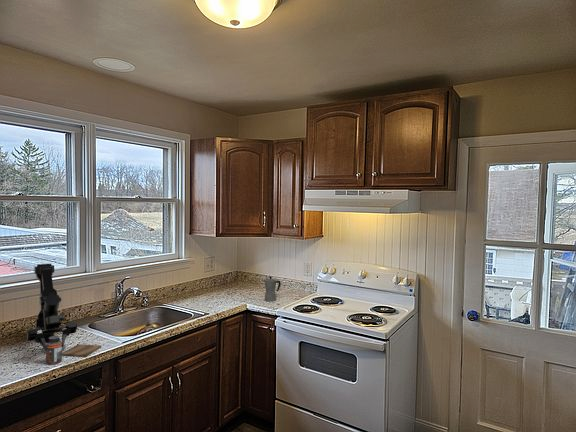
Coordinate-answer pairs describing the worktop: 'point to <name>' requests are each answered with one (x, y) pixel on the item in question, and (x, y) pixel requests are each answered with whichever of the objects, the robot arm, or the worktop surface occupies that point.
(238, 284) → the worktop surface
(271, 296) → the coffeepot
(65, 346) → the slate coaster
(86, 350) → the walnut coaster
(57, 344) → the supplement bottle
